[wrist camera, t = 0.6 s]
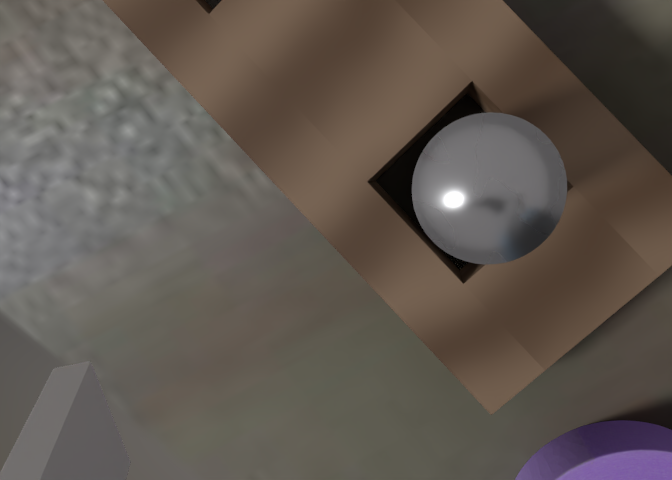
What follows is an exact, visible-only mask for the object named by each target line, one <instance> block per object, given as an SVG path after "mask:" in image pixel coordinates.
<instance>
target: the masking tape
mask: <svg viewBox="0 0 672 480" xmlns="http://www.w3.org/2000/svg"><path fill="white" fill-rule="evenodd" d="M515 480H672V430H671V429H668V428H665V427H663V426H660V425H656V424H652V423H646V422H639V421H629V420H616V421H604V422H598V423H593V424H589V425H585V426H582V427H579V428H576V429H574V430H571V431H569V432H567V433H565V434H563V435H561V436H559V437H558V438H556V439H554V440H552V441H551V442H549V443H548V444H546V445H545V446H543V447H542V448H541V449H540V450H539V451H537V452H536V453H535V454H534V455H533V456H532V457H531V458H530V459H529V460H528V461H527V463H526V464H525V465H524V466H523V468H522V469H521V470H520V472H519V474H518V475H517V477H516V479H515Z"/></svg>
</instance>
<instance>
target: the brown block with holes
mask: <svg viewBox="0 0 672 480" xmlns="http://www.w3.org/2000/svg"><path fill="white" fill-rule="evenodd" d="M103 1H104V2H105V3H106V4H107V6H108V7H109V8H110V9H111V10H112V11H113V12H114V13H115V14H116V15H117V16H118V17H119V18H120V19H121V20H122V22H123V23H124V24H125V25H126V26H127V27H128V28H129V29H130V30H131V31H132V32H133V33H134V34H135V35H136V36H137V38H138V39H139V40H140V41H141V42H142V43H143V44H144V45H145V46H146V47H147V48H148V49H149V50H150V51H151V52H152V54H153V55H154V56H155V57H156V58H157V59H158V60H159V61H160V62H161V63H162V64H163V65H164V66H165V67H166V68H167V70H168V71H169V72H170V73H171V74H172V75H173V76H174V77H175V78H176V79H177V80H178V81H179V82H180V83H181V84H182V86H183V87H184V88H185V89H186V90H187V91H188V92H189V93H190V94H191V95H192V96H193V97H194V98H195V99H196V100H197V102H198V103H199V104H200V105H201V106H202V107H203V108H204V109H205V110H206V111H207V112H208V113H209V114H210V115H211V116H212V118H213V119H214V120H215V121H216V122H217V123H218V124H219V125H220V126H221V127H222V128H223V129H224V130H225V131H226V132H227V134H228V135H229V136H230V137H231V138H232V139H233V140H234V141H235V142H236V143H237V144H238V145H239V146H240V147H241V148H242V150H243V151H244V152H245V153H246V154H247V155H248V156H249V157H250V158H251V159H252V160H253V161H254V162H255V163H256V164H257V166H258V167H259V168H260V169H261V170H262V171H263V172H264V173H265V174H266V175H267V176H268V177H269V178H270V179H271V180H272V182H273V183H274V184H275V185H276V186H277V187H278V188H279V189H280V190H281V191H282V192H283V193H284V194H285V195H286V196H287V198H288V199H289V200H290V201H291V202H292V203H293V204H294V205H295V206H296V207H297V208H298V209H299V210H300V211H301V212H302V214H303V215H304V216H305V217H306V218H307V219H308V220H309V221H310V222H311V223H312V224H313V225H314V226H315V227H316V228H317V230H318V231H319V232H320V233H321V234H322V235H323V236H324V237H325V238H326V239H327V240H328V241H329V242H330V243H331V244H332V246H333V247H334V248H335V249H336V250H337V251H338V252H339V253H340V254H341V255H342V256H343V257H344V258H345V259H346V260H347V262H348V263H349V264H350V265H351V266H352V267H353V268H354V269H355V270H356V271H357V272H358V273H359V274H360V275H361V276H362V278H363V279H364V280H365V281H366V282H367V283H368V284H369V285H370V286H371V287H372V288H373V289H374V290H375V291H376V292H377V294H378V295H379V296H380V297H381V298H382V299H383V300H384V301H385V302H386V303H387V304H388V305H389V306H390V307H391V308H392V310H393V311H394V312H395V313H396V314H397V315H398V316H399V317H400V318H401V319H402V320H403V321H404V322H405V323H406V324H407V326H408V327H409V328H410V329H411V330H412V331H413V332H414V333H415V334H416V335H417V336H418V337H419V338H420V339H421V340H422V342H423V343H424V344H425V345H426V346H427V347H428V348H429V349H430V350H431V351H432V352H433V353H434V354H435V355H436V356H437V358H438V359H439V360H440V361H441V362H442V363H443V364H444V365H445V366H446V367H447V368H448V369H449V370H450V371H451V372H452V374H453V375H454V376H455V377H456V378H457V379H458V380H459V381H460V382H461V383H462V384H463V385H464V386H465V387H466V388H467V390H468V391H469V392H470V393H471V394H472V395H473V396H474V397H475V398H476V399H477V400H478V401H479V402H480V403H481V404H482V406H483V407H484V408H485V409H486V410H487V411H488V412H489V413H490V414H491V415H492V414H493V413H494V412H496V411H497V410H498V409H499V408H500V407H502V406H503V405H504V404H505V403H506V402H508V401H509V400H510V399H511V398H513V397H514V396H515V395H516V394H517V393H519V392H520V391H521V390H522V389H523V388H525V387H526V386H527V385H528V384H529V383H531V382H532V381H533V380H534V379H535V378H537V377H538V376H539V375H540V374H541V373H543V372H544V371H545V370H546V369H548V368H549V367H550V366H551V365H552V364H554V363H555V362H556V361H557V360H558V359H560V358H561V357H562V356H563V355H564V354H566V353H567V352H568V351H569V350H570V349H572V348H573V347H574V346H575V345H577V344H578V343H579V342H580V341H581V340H583V339H584V338H585V337H586V336H587V335H589V334H590V333H591V332H592V331H593V330H595V329H596V328H597V327H598V326H599V325H601V324H602V323H603V322H604V321H605V320H607V319H608V318H609V317H610V316H612V315H613V314H614V313H615V312H616V311H618V310H619V309H620V308H621V307H622V306H624V305H625V304H626V303H627V302H628V301H630V300H631V299H632V298H633V297H634V296H636V295H637V294H638V293H639V292H641V291H642V290H643V289H644V288H645V287H647V286H648V285H649V284H650V283H651V282H653V281H654V280H655V279H656V278H657V277H659V276H660V275H661V274H662V273H663V272H665V271H666V270H667V269H668V268H669V267H671V266H672V175H671V174H670V173H669V172H668V171H667V170H666V169H665V168H664V167H663V166H662V165H661V164H660V163H659V162H658V161H657V160H656V159H655V158H654V157H653V156H652V155H651V154H650V153H649V152H648V151H647V150H646V148H645V147H644V146H643V145H642V144H641V143H640V142H639V141H638V140H637V139H636V138H635V137H634V136H633V135H632V134H631V133H630V132H629V131H628V130H627V129H626V128H625V127H624V126H623V125H622V124H621V123H620V122H619V121H618V119H617V118H616V117H615V116H614V115H613V114H612V113H611V112H610V111H609V110H608V109H607V108H606V107H605V106H604V105H603V104H602V103H601V102H600V101H599V100H598V99H597V98H596V97H595V96H594V95H593V94H592V93H591V91H590V90H589V89H588V88H587V87H586V86H585V85H584V84H583V83H582V82H581V81H580V80H579V79H578V78H577V77H576V76H575V75H574V74H573V73H572V72H571V71H570V70H569V69H568V68H567V67H566V66H565V65H564V63H563V62H562V61H561V60H560V59H559V58H558V57H557V56H556V55H555V54H554V53H553V52H552V51H551V50H550V49H549V48H548V47H547V46H546V45H545V44H544V43H543V42H542V41H541V40H540V39H539V38H538V37H537V36H536V34H535V33H534V32H533V31H532V30H531V29H530V28H529V27H528V26H527V25H526V24H525V23H524V22H523V21H522V20H521V19H520V18H519V17H518V16H517V15H516V14H515V13H514V12H513V11H512V10H511V9H510V8H509V6H508V5H507V4H506V3H505V2H504V1H503V0H221V2H220V3H219V4H218V5H217V6H216V7H215V8H214V9H213V8H212V7H211V6H210V5H209V4H208V3H207V2H206V1H205V0H103ZM467 93H468V94H469V95H470V97H471V98H472V99H473V100H474V101H475V102H476V103H477V104H478V105H479V106H480V107H481V108H482V109H483V110H484V111H485V112H486V113H489V112H494V113H504V114H509V115H513V116H516V117H519V118H522V119H524V120H526V121H528V122H530V123H531V124H533V125H534V126H536V127H537V128H539V129H540V130H541V131H542V132H543V133H544V134H545V135H546V136H547V137H548V138H549V139H550V140H551V141H552V143H553V144H554V146H555V147H556V149H557V150H558V152H559V154H560V156H561V159H562V161H563V164H564V167H565V171H566V177H567V196H566V203H565V206H564V210H563V213H562V215H561V218H560V220H559V222H558V224H557V225H556V227H555V229H554V230H553V232H552V233H551V234H550V235H549V237H548V238H547V239H546V240H545V241H544V242H543V243H542V244H541V245H540V246H538V247H537V248H536V249H534V250H533V251H532V252H530V253H528V254H526V255H525V256H523V257H520V258H518V259H516V260H513V261H509V262H506V263H500V264H475V263H471V262H468V263H467V264H466V265H465V266H464V267H463V268H462V269H461V270H459V269H458V268H457V267H456V266H455V265H454V264H453V263H452V262H451V260H450V259H449V258H448V257H447V256H446V255H445V254H444V253H443V252H442V251H441V250H440V249H439V248H438V247H437V246H436V245H435V244H434V242H433V241H432V240H431V239H430V238H429V237H428V236H427V235H426V234H425V233H424V232H423V231H422V230H421V229H420V228H419V227H418V226H417V224H416V223H415V222H414V221H413V220H412V219H411V218H410V217H409V216H408V215H407V214H406V213H405V212H404V211H403V210H402V209H401V208H400V206H399V205H398V204H397V203H396V202H395V201H394V200H393V199H392V198H391V197H390V196H389V195H388V194H387V193H386V192H385V191H384V190H383V188H382V187H381V186H380V185H379V184H378V183H377V182H376V180H377V179H378V178H379V177H380V176H381V175H382V174H383V173H384V172H385V171H386V170H387V169H388V168H389V167H391V166H392V165H393V164H394V163H395V162H396V161H397V160H398V159H399V158H400V157H401V156H402V155H403V154H404V153H405V152H406V151H407V150H408V149H409V148H410V147H411V146H412V145H414V144H415V143H416V142H417V141H418V140H419V139H420V138H421V137H422V136H423V135H424V134H425V133H426V132H427V131H428V130H429V129H430V128H431V127H432V126H433V125H434V124H435V123H436V122H438V121H439V120H440V119H441V118H442V117H443V116H444V115H445V114H446V113H447V112H448V111H449V110H450V109H451V108H452V107H453V106H454V105H455V104H456V103H457V102H458V101H459V100H461V99H462V98H463V97H464V96H465V95H466V94H467Z"/></svg>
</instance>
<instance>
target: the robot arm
mask: <svg viewBox="0 0 672 480" xmlns="http://www.w3.org/2000/svg"><path fill="white" fill-rule="evenodd" d="M130 463H131V462H130V459H129V457H128V454H127V451H126V449H125V447H124V444H123V442H122V439H121V436H120V434H119V431H118V429H117V426H116V424H115V421H114V419H113V416H112V414H111V411H110V408H109V406H108V403H107V401H106V398H105V396H104V393H103V391H102V388H101V386H100V383H99V381H98V378H97V376H96V373H95V371H94V368H93V366H92V363H91V361H87V362H82V363H77V364H72V365H67V366H62V367H58V368H53V370H52V372H51V374H50V376H49V378H48V380H47V382H46V384H45V386H44V388H43V390H42V392H41V394H40V396H39V398H38V400H37V402H36V404H35V406H34V407H33V410H32V411H31V413H30V415H29V417H28V419H27V421H26V423H25V425H24V427H23V429H22V431H21V433H20V435H19V437H18V439H17V441H16V443H15V445H14V447H13V449H12V450H11V452H10V454H9V456H8V458H7V460H6V462H5V464H4V466H3V468H2V470H1V472H0V480H126V478H127V475H128V471H129V467H130Z"/></svg>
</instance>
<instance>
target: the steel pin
mask: <svg viewBox="0 0 672 480" xmlns="http://www.w3.org/2000/svg"><path fill="white" fill-rule="evenodd" d="M566 196H567V177H566V171H565V167H564V164H563V161H562V159H561V156H560V154H559V152H558V150H557V149H556V147H555V146H554V144H553V143H552V141H551V140H550V139H549V138H548V137H547V136H546V135H545V134H544V133H543V132H542V131H541V130H540V129H539V128H537V127H536V126H534V125H533V124H531V123H530V122H528V121H526V120H524V119H522V118H519V117H516V116H513V115H509V114H504V113H494V112H489V113H478V114H473V115H469V116H466V117H463V118H460V119H458V120H456V121H454V122H452V123H451V124H449V125H447V126H446V127H444V128H443V129H442V130H441V131H439V132H438V133H437V134H436V135H435V136H434V137H433V138H432V139H431V140H430V141H429V143H428V144H427V145H426V147H425V148H424V150H423V151H422V153H421V155H420V157H419V159H418V161H417V164H416V167H415V170H414V174H413V180H412V200H413V206H414V210H415V213H416V216H417V218H418V221H419V223H420V225H421V227H422V228H423V230H424V231H425V233H426V234H427V235H428V237H429V238H430V239H431V240H432V241H433V242H434V243H435V244H436V245H437V246H438V247H439V248H441V249H442V250H443V251H445V252H446V253H448V254H450V255H452V256H453V257H455V258H458V259H461V260H463V261H466V262H471V263H475V264H500V263H506V262H509V261H513V260H516V259H518V258H520V257H523V256H525V255H526V254H528V253H530V252H532V251H533V250H534V249H536V248H537V247H538V246H540V245H541V244H542V243H543V242H544V241H545V240H546V239H547V238H548V237H549V235H550V234H551V233H552V232H553V230H554V229H555V227H556V225H557V224H558V222H559V220H560V218H561V215H562V213H563V210H564V206H565V203H566Z"/></svg>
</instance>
